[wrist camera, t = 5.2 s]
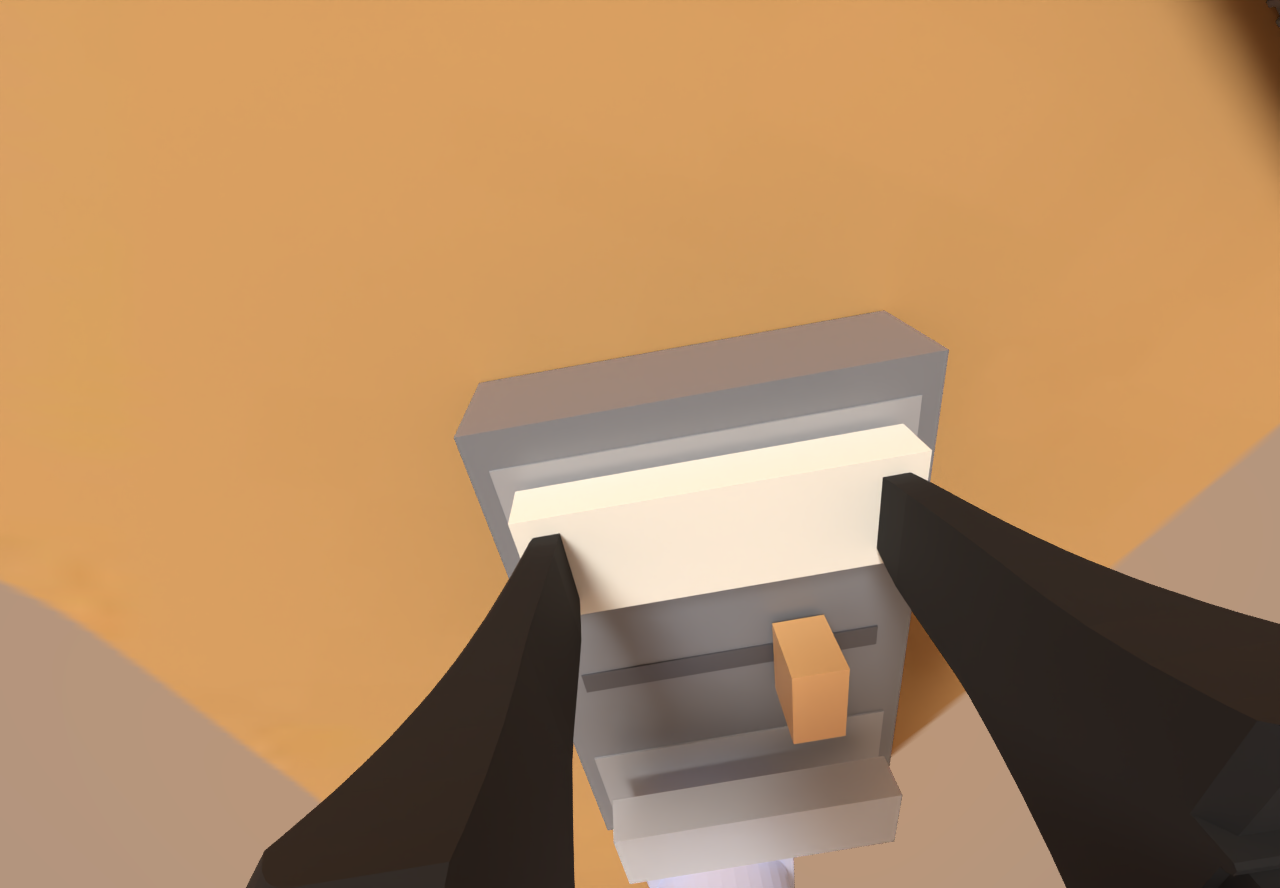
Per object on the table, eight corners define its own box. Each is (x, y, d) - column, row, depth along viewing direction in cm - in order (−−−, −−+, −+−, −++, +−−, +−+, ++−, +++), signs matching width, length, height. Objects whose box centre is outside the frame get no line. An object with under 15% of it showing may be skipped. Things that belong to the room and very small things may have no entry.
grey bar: (877, 802, 19) (894, 841, 18) (628, 843, 19) (629, 883, 18) (884, 756, 17) (902, 795, 16) (612, 800, 18) (613, 842, 17)
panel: (854, 712, 23) (887, 786, 21) (606, 753, 23) (608, 831, 21) (884, 310, 14) (949, 350, 12) (479, 382, 14) (453, 438, 12)
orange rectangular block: (822, 679, 17) (845, 735, 15) (775, 687, 17) (793, 744, 15) (823, 614, 15) (850, 668, 14) (771, 623, 15) (791, 678, 14)
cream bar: (892, 525, 14) (916, 557, 13) (547, 584, 14) (543, 621, 13) (903, 423, 12) (931, 450, 11) (515, 491, 12) (507, 524, 11)
